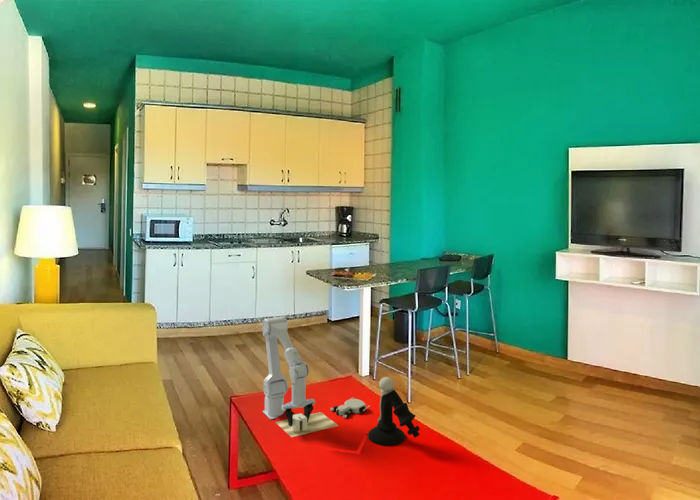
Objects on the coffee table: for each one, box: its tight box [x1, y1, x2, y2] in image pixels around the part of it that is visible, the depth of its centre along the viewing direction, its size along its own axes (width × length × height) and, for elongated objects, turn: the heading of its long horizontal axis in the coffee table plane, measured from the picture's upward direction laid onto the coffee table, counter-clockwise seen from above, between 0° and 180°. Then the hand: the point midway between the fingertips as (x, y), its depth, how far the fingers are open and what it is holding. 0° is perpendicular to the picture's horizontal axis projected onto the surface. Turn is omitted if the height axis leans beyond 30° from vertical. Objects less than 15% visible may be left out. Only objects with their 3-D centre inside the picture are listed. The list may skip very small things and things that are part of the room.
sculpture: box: [367, 376, 420, 447], centre depth 210 cm, size 15×24×25 cm, turn 46°
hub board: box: [275, 411, 339, 438], centre depth 223 cm, size 16×22×4 cm
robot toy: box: [329, 396, 371, 419], centre depth 237 cm, size 12×4×15 cm
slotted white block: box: [290, 413, 307, 432], centre depth 218 cm, size 5×5×5 cm
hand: (298, 423), depth 218 cm, fingers open, 7 cm apart
